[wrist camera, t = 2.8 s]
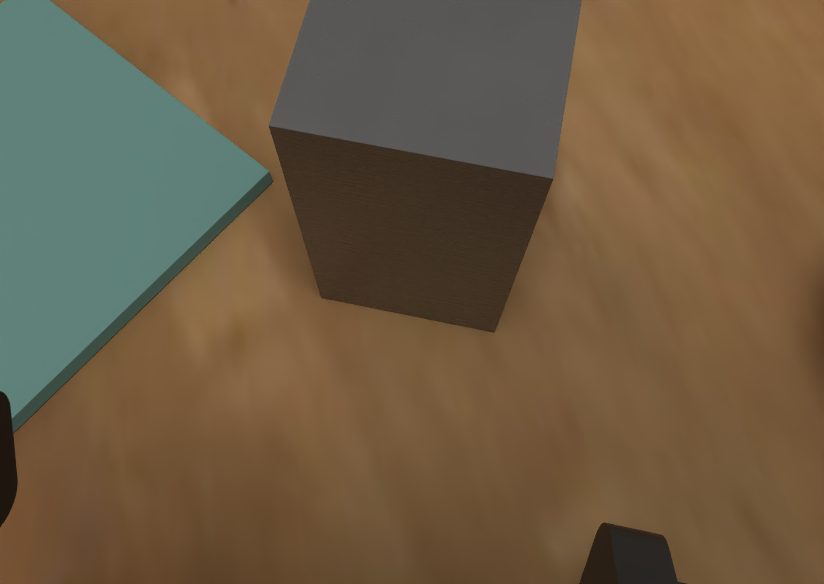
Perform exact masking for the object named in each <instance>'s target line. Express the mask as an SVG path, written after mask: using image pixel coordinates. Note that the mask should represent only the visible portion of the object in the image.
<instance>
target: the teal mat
mask: <svg viewBox="0 0 824 584" xmlns="http://www.w3.org/2000/svg"><path fill="white" fill-rule="evenodd" d="M272 182H273V181H272V178H271V175H270V173H269V171H268V170H267V169H265V168H264V167H263V166H262V165H260V164H259V163H258V162H257V161H255V160H254V159H253V158H251V157H250V156H249V155H248V154H246V153H245V152H244V151H242V150H241V149H240V148H239V147H237V146H236V145H235V144H233V143H232V142H231V141H230V140H228V139H227V138H226V137H224V136H223V135H222V134H221V133H219V132H218V131H217V130H215V129H214V128H213V127H212V126H210V125H209V124H208V123H206V122H205V121H204V120H203V119H201V118H200V117H199V116H197V115H196V114H195V113H194V112H192V111H191V110H190V109H188V108H187V107H186V106H185V105H183V104H182V103H181V102H179V101H178V100H177V99H176V98H174V97H173V96H172V95H170V94H169V93H168V92H167V91H165V90H164V89H163V88H162V87H160V86H159V85H158V84H156V83H155V82H154V81H153V80H151V79H150V78H149V77H147V76H146V75H145V74H144V73H142V72H141V71H140V70H138V69H137V68H136V67H135V66H133V65H132V64H131V63H129V62H128V61H127V60H126V59H124V58H123V57H122V56H120V55H119V54H118V53H117V52H115V51H114V50H113V49H111V48H110V47H109V46H108V45H106V44H105V43H104V42H102V41H101V40H100V39H99V38H97V37H96V36H95V35H93V34H92V33H91V32H90V31H88V30H87V29H86V28H84V27H83V26H82V25H81V24H79V23H78V22H77V21H76V20H74V19H73V18H72V17H70V16H69V15H68V14H67V13H65V12H64V11H63V10H61V9H60V8H59V7H58V6H56V5H55V4H54V3H52V2H51V1H50V0H5V1H4V2H2V3H1V4H0V391H2V392H3V393H5V394H6V396H7V397H8V399H9V402H10V406H11V416H12V426H13V433H14V432H15V431H16V430H17V429H18V428H19V427H20V426H21V425H22V424H23V423H25V422H26V421H27V420H28V419H29V418H30V417H31V416H32V415H33V414H34V413H35V412H36V411H37V410H38V409H39V408H40V407H41V406H42V405H43V404H44V403H45V402H46V401H47V400H48V399H49V398H50V397H51V396H52V395H53V394H54V393H55V392H56V391H58V390H59V389H60V388H61V387H62V386H63V385H64V384H65V383H66V382H67V381H68V380H69V379H70V378H71V377H72V376H73V375H74V374H75V373H76V372H77V371H78V370H79V369H80V368H81V367H82V366H83V365H84V364H85V363H86V362H87V361H88V360H89V359H91V358H92V357H93V356H94V355H95V354H96V353H97V352H98V351H99V350H100V349H101V348H102V347H103V346H104V345H105V344H106V343H107V342H108V341H109V340H110V339H111V338H112V337H113V336H114V335H115V334H116V333H117V332H118V331H119V330H120V329H121V328H122V327H124V326H125V325H126V324H127V323H128V322H129V321H130V320H131V319H132V318H133V317H134V316H135V315H136V314H137V313H138V312H139V311H140V310H141V309H142V308H143V307H144V306H145V305H146V304H147V303H148V302H149V301H150V300H151V299H152V298H153V297H154V296H155V295H156V294H158V293H159V292H160V291H161V290H162V289H163V288H164V287H165V286H166V285H167V284H168V283H169V282H170V281H171V280H172V279H173V278H174V277H175V276H176V275H177V274H178V273H179V272H180V271H181V270H182V269H183V268H184V267H185V266H186V265H187V264H188V263H189V262H191V261H192V260H193V259H194V258H195V257H196V256H197V255H198V254H199V253H200V252H201V251H202V250H203V249H204V248H205V247H206V246H207V245H208V244H209V243H210V242H211V241H212V240H213V239H214V238H215V237H216V236H217V235H218V234H219V233H220V232H221V231H222V230H224V229H225V228H226V227H227V226H228V225H229V224H230V223H231V222H232V221H233V220H234V219H235V218H236V217H237V216H238V215H239V214H240V213H241V212H242V211H243V210H244V209H245V208H246V207H247V206H248V205H249V204H250V203H251V202H252V201H253V200H254V199H255V198H257V197H258V196H259V195H260V194H261V193H262V192H263V191H264V190H265V189H266V188H267V187H268V186H269V185H270V184H271V183H272Z"/></svg>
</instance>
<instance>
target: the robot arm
mask: <svg viewBox="0 0 824 584" xmlns="http://www.w3.org/2000/svg"><path fill="white" fill-rule="evenodd" d="M17 484H18V483H17V469H16V459H15V448H14V437H13V426H12V416H11V406H10V402H9V399H8V397H7V396H6V394H5V393H3V392H2V391H0V527H1V525H2V524H3V523H4V521H5V520H6V518H7V516H8V514H9V512H10V510H11V508H12V506H13V503H14V500H15V497H16V492H17ZM579 584H685V583H681V582H678V581H677V578H676V574H675V570H674V566H673V562H672V558H671V554H670V551H669V547H668V544H667V541H666V539H665V537H664V536H663V535H660V534H656V533H651V532H646V531H642V530H637V529H632V528H628V527H623V526H618V525H614V524H609V523H602V524H601V525H600V527H599V529H598V531H597V533H596V536H595V539H594V542H593V545H592V548H591V551H590V554H589V557H588V560H587V563H586V566H585V568H584V571H583V574H582V577H581V580H580V583H579Z"/></svg>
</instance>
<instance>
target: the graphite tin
mask: <svg viewBox="0 0 824 584" xmlns="http://www.w3.org/2000/svg"><path fill="white" fill-rule="evenodd" d="M581 1H582V0H310V2H309V5H308V8H307V11H306V14H305V17H304V20H303V23H302V26H301V29H300V32H299V35H298V38H297V41H296V44H295V48H294V51H293V54H292V57H291V60H290V63H289V66H288V69H287V72H286V75H285V78H284V81H283V84H282V87H281V90H280V93H279V96H278V99H277V102H276V105H275V108H274V111H273V114H272V118H271V121H270V124H269V128H270V131H271V134H272V138H273V141H274V144H275V148H276V151H277V154H278V157H279V161H280V164H281V167H282V170H283V174H284V177H285V180H286V183H287V187H288V190H289V193H290V197H291V200H292V203H293V206H294V210H295V213H296V216H297V219H298V223H299V226H300V229H301V232H302V236H303V239H304V242H305V246H306V249H307V252H308V255H309V259H310V262H311V265H312V268H313V272H314V275H315V278H316V281H317V285H318V288H319V291H320V295H321V298H326V299H331V300H336V301H341V302H346V303H351V304H356V305H361V306H366V307H371V308H376V309H381V310H386V311H391V312H396V313H400V314H405V315H410V316H415V317H420V318H425V319H430V320H435V321H440V322H445V323H450V324H455V325H460V326H465V327H470V328H475V329H480V330H485V331H490V332H495V329H496V327H497V324H498V322H499V319H500V316H501V314H502V311H503V308H504V306H505V303H506V301H507V298H508V295H509V293H510V290H511V288H512V285H513V282H514V280H515V277H516V275H517V272H518V269H519V267H520V264H521V262H522V259H523V256H524V254H525V251H526V249H527V246H528V243H529V241H530V238H531V236H532V233H533V230H534V228H535V225H536V222H537V220H538V217H539V215H540V212H541V209H542V207H543V204H544V202H545V199H546V196H547V194H548V191H549V189H550V186H551V183H552V181H553V177H554V171H555V165H556V158H557V152H558V146H559V140H560V133H561V127H562V121H563V114H564V108H565V102H566V95H567V89H568V83H569V77H570V70H571V64H572V58H573V51H574V45H575V39H576V32H577V26H578V20H579V14H580V7H581Z"/></svg>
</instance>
